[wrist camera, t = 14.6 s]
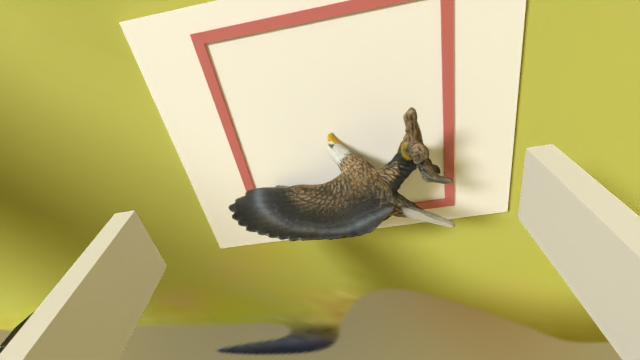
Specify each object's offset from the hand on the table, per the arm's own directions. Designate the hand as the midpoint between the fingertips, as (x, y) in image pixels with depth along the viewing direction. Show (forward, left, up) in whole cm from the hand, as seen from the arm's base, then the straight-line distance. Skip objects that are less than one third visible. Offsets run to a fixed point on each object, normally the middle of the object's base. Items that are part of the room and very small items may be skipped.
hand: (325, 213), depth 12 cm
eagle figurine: (0, -3, -8) cm, 8 cm away
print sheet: (0, 0, -8) cm, 8 cm away
